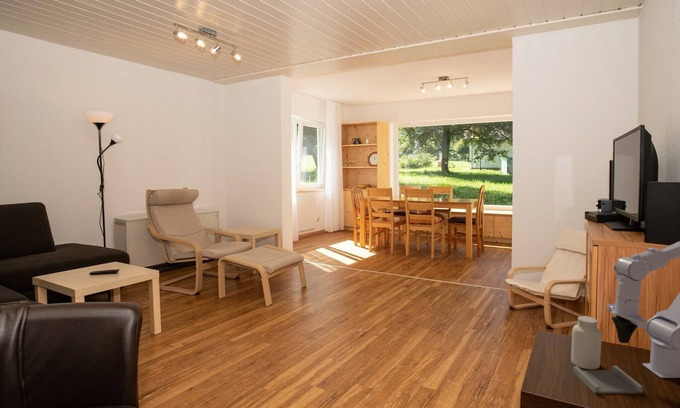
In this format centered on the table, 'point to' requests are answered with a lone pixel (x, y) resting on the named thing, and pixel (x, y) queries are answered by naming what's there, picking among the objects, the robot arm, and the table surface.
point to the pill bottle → (586, 343)
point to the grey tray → (608, 381)
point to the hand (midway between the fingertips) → (623, 342)
